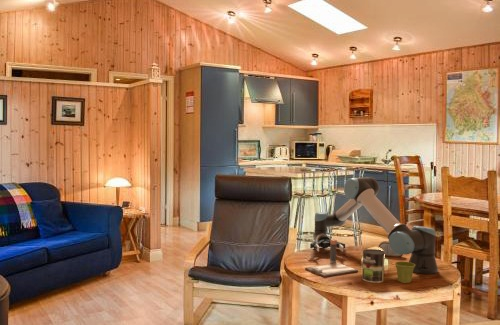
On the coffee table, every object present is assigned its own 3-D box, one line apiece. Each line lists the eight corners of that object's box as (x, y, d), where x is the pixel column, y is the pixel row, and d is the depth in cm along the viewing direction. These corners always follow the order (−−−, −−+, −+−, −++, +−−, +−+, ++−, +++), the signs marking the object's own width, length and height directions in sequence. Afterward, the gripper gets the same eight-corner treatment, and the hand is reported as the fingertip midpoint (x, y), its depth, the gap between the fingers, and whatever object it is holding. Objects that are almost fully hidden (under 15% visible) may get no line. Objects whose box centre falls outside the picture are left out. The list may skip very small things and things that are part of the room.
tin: (404, 256, 289) (405, 242, 288) (404, 258, 286) (404, 243, 285) (378, 254, 294) (378, 240, 294) (377, 255, 291) (378, 241, 291)
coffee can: (376, 284, 234) (377, 255, 233) (358, 279, 241) (358, 251, 241) (387, 280, 241) (388, 251, 240) (369, 275, 249) (370, 248, 248)
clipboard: (358, 271, 255) (358, 267, 255) (324, 277, 244) (324, 273, 244) (338, 264, 269) (338, 260, 269) (305, 269, 258) (305, 265, 258)
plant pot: (414, 285, 233) (415, 267, 233) (394, 283, 237) (394, 265, 236) (414, 279, 242) (415, 262, 242) (394, 277, 245) (395, 260, 245)
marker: (337, 263, 270) (338, 240, 270) (332, 264, 269) (333, 241, 268) (333, 262, 273) (334, 239, 273) (328, 263, 272) (329, 239, 271)
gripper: (343, 247, 298) (352, 255, 277) (302, 247, 297) (308, 255, 276) (343, 234, 297) (352, 242, 276) (302, 234, 296) (308, 242, 275)
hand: (330, 249), depth 276 cm, fingers open, 13 cm apart
